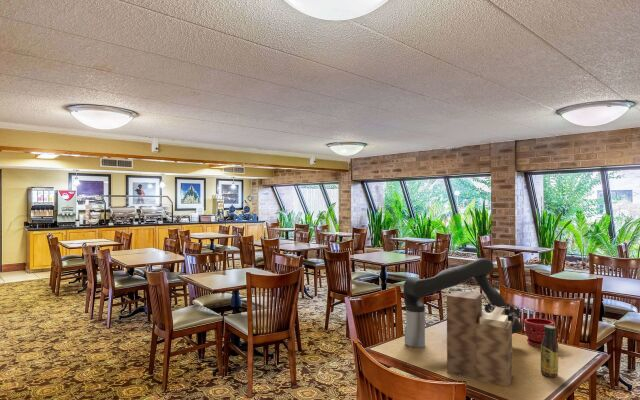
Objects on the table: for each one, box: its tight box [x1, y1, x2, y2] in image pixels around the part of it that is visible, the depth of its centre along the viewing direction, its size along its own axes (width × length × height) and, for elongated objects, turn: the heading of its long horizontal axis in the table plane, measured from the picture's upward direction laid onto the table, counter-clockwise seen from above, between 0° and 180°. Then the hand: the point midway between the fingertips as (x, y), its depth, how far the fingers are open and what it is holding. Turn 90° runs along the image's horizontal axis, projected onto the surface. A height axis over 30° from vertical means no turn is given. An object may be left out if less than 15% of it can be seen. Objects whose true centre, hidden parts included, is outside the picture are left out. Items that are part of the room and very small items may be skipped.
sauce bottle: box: [540, 325, 559, 378], centre depth 159 cm, size 6×6×20 cm
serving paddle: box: [480, 307, 508, 328], centre depth 161 cm, size 9×22×2 cm, turn 147°
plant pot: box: [523, 317, 555, 348], centre depth 194 cm, size 13×13×12 cm
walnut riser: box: [446, 290, 513, 388], centre depth 160 cm, size 23×12×32 cm, turn 57°
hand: (500, 306), depth 170 cm, fingers open, 8 cm apart
